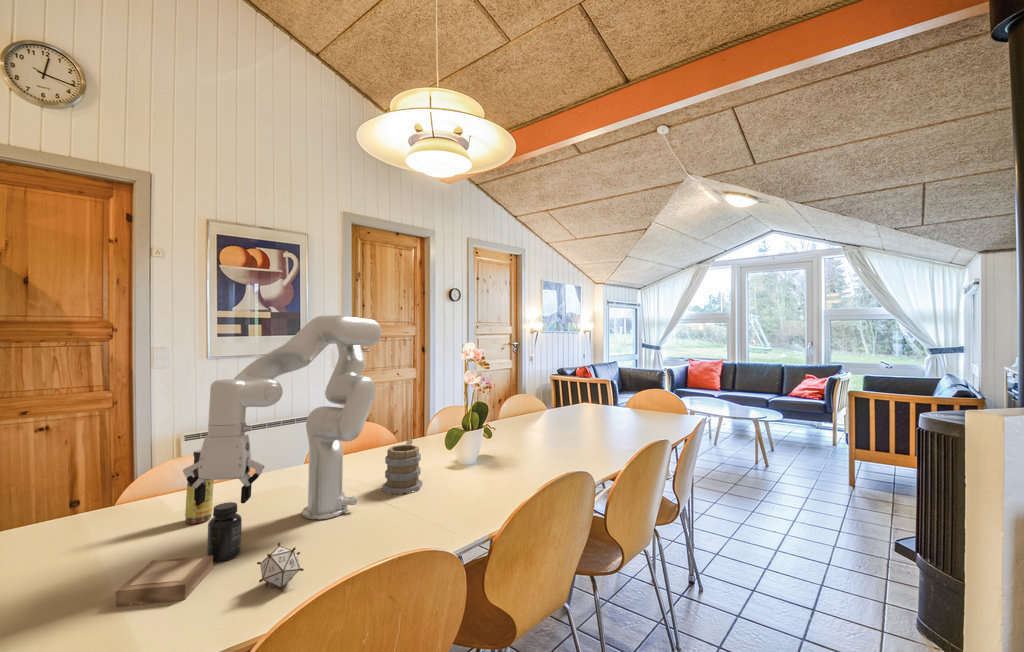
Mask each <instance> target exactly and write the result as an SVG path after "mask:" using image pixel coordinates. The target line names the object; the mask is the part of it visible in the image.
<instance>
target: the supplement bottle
mask: <svg viewBox="0 0 1024 652" xmlns="http://www.w3.org/2000/svg"><path fill="white" fill-rule="evenodd" d="M212 511H213V512H212V516H213V517H211V518H210V519H209V520H208V523H207V543H206V544H207V545H206V551H207V552H206V556H213V564H215V563H218V564H219V563H223V562H228V561H231V560H233V559H235V558H236V556H237V557H238V556H239V555H240V554H241V551H242V526H243V525H242V524H243V521H242V520H243V518H242V516H241V515H240V514H239V513H238V503H237V502H233V501H231V502H223V503H220V504H217V505H215V506H214V507H213V509H212ZM230 559H231V560H230Z"/></svg>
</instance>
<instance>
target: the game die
mask: <svg viewBox="0 0 1024 652" xmlns="http://www.w3.org/2000/svg"><path fill="white" fill-rule="evenodd" d="M296 550H297V549H296V546H295V547H292V549H290V548H288V547H285V546H281V542H278V543H277V547H276V548H275V549H274V550H273V551H272V552H271V553H267V555H266V557H265V558H264V559H263V560H262V561H257V562H256V564H257V565H260V572H261V578H260V579H259V581H258V583H261V582H265V584H264V586H266V587H267V586H268V585H272V586H276V587H278V588H280V592H281V593H283V591H284V586H285V585H286V584H287V583H288V582H289V581H290V580H291V579H293V577H294V576H295V575H297V573H299V572H303V571H305V569H304V568H301V567H300V566H301V565H300V561H299V557H298V556H299V555H300V553H301V551H298V552H296Z"/></svg>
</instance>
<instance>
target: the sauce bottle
mask: <svg viewBox="0 0 1024 652" xmlns="http://www.w3.org/2000/svg"><path fill="white" fill-rule="evenodd" d="M200 454H201V449H197V450H194V451H193V464H195V463H197V462H199V459H200ZM193 474H194V475H195V476H196V477H198V468H196V469H194V470H193ZM198 478H199V477H198ZM204 485H205V486H206V492H205V501H204V502H203V503H201V504H200V505H198V506H196V505H195V503H196V501H194V491H195V488H193V487H192V485H191V484H190V483H189V482H188V481H187V485H186V496H185V497H186V498H185V514H184V517H185V521H184V522H185V523H186V524H189V525H196V524H200V523H204V522H207V521H209V520H211V518H212V514H213V512H212V511H213V495H214V480H206V481H205V482H204Z"/></svg>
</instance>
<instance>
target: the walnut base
mask: <svg viewBox="0 0 1024 652" xmlns="http://www.w3.org/2000/svg"><path fill="white" fill-rule="evenodd" d="M213 569H214V562H213V556H207V555H205V556H204V555H203V556H191V557H179V558H167V559H165V558H164V559H155V560H151V561H150V562H149V563H148V564H147V565H145V566H144V567H143V568H142V569H140V571H138V572H137V573H136V574H134V575H133V576H132V577H130V579H129V580H127V581H126V582H125V583H123V585H121V586H119V588H117V589H116V590H115V606H118V607H122V606H121V605H127V606H131V605H130V604H137V605H141V604H140V603H147V604H155V603H154V602H157V603H166V601H167V602H176V600H177V601H185V600H186V599H188V597H189V596H190V595H191V594H192V592H193V591H194V590H195V589H196V588H197V587H198V586H199V585H200V584H201V583H202V581H203V580H204V579H206V577H207V576H208V574H210V572H211V571H212V570H213ZM198 584H199V585H198Z"/></svg>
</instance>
